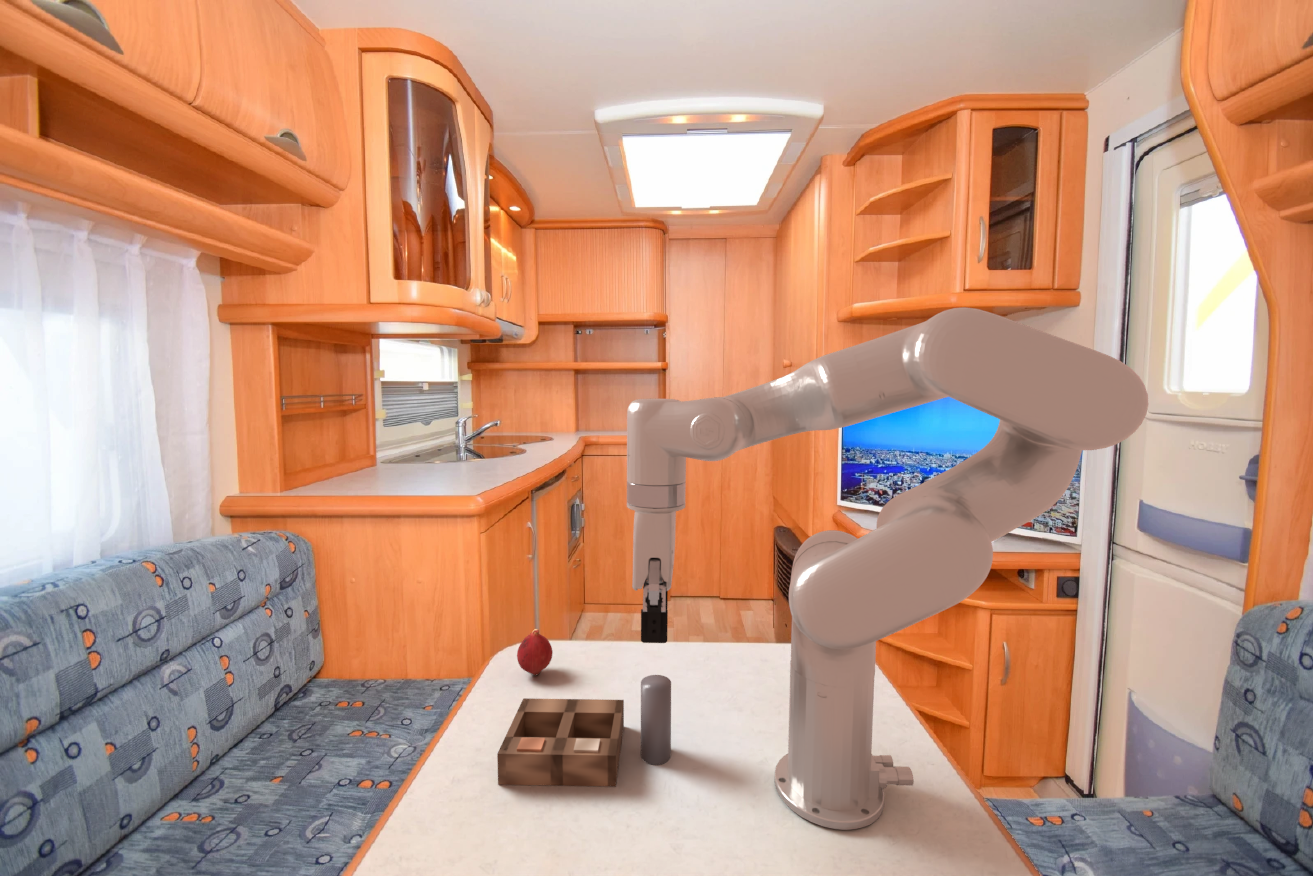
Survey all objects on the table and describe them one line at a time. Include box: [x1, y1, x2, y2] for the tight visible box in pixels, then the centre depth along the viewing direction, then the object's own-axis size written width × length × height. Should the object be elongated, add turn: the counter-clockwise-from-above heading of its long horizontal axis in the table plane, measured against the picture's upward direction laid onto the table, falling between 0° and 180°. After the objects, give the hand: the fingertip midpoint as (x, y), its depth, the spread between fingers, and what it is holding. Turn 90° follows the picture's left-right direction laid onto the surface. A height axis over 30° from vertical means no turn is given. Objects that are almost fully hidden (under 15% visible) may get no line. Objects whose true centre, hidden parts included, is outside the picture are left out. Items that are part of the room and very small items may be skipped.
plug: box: [640, 674, 672, 766], centre depth 72 cm, size 4×4×10 cm
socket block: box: [496, 698, 625, 788], centre depth 72 cm, size 14×12×4 cm
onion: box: [516, 628, 554, 676], centre depth 92 cm, size 6×6×8 cm
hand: (655, 624), depth 71 cm, fingers open, 9 cm apart
